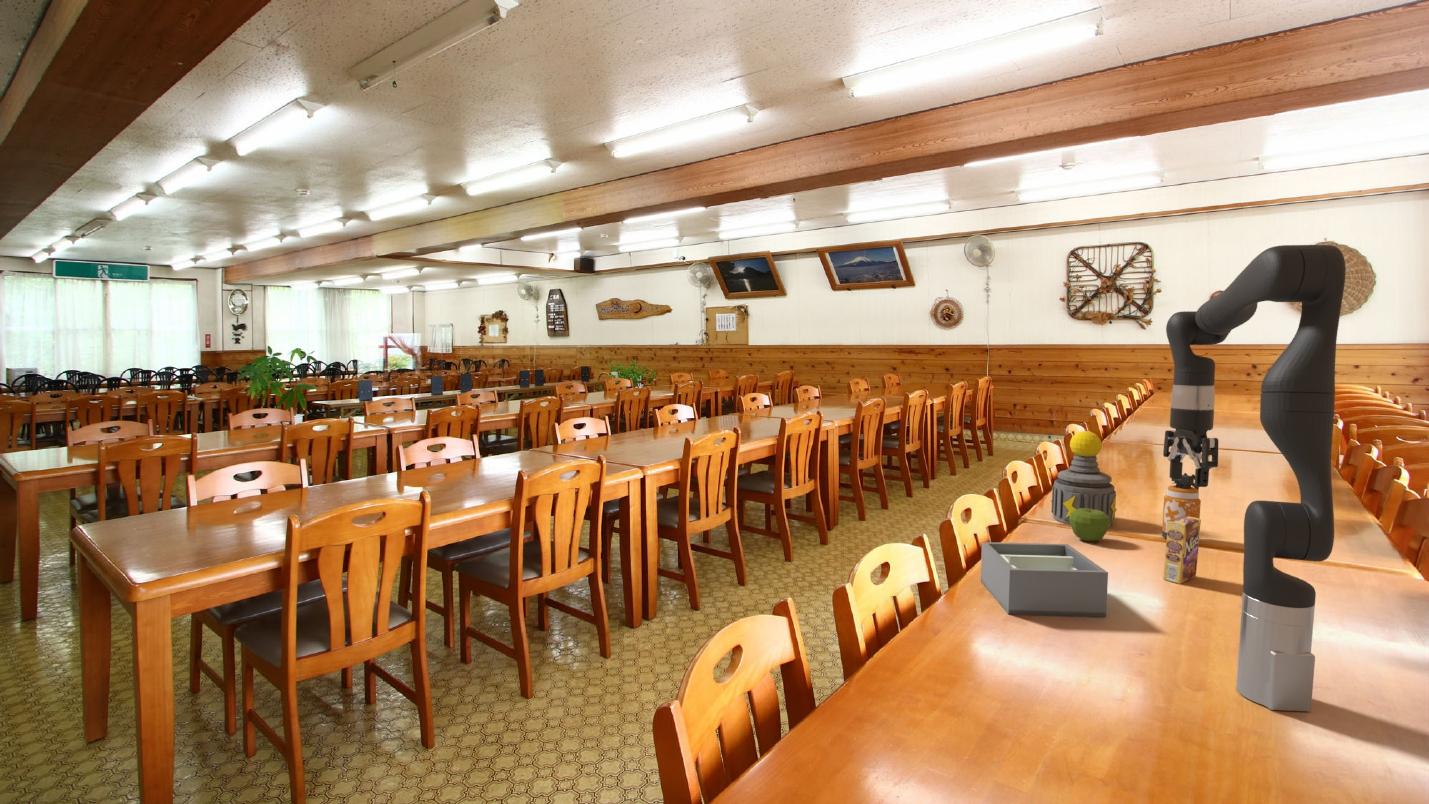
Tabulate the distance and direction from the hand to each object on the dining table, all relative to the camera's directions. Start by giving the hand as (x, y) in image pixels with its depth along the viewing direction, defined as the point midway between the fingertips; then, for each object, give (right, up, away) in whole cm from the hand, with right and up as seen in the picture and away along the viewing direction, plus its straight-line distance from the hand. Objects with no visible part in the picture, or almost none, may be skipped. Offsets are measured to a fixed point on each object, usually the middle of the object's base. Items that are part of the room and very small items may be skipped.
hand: (1187, 482), depth 144 cm
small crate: (-25, -28, +13) cm, 40 cm away
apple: (+11, -25, +58) cm, 64 cm away
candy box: (+16, -27, +26) cm, 41 cm away
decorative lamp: (+21, -22, +80) cm, 86 cm away
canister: (+39, -24, +59) cm, 75 cm away
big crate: (-25, -29, +14) cm, 40 cm away
